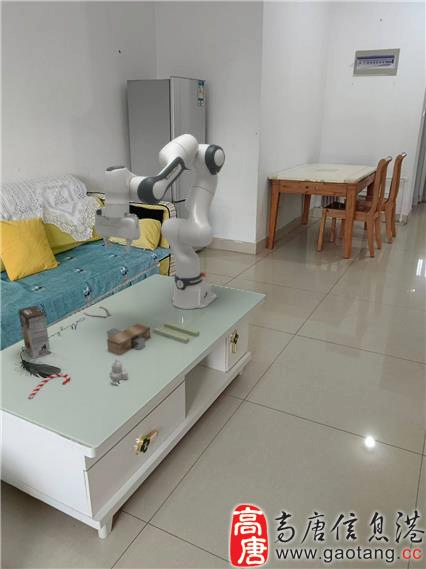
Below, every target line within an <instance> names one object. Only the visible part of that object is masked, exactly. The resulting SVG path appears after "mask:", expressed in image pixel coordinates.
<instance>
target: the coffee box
mask: <svg viewBox="0 0 426 569" xmlns="http://www.w3.org/2000/svg"><path fill="white" fill-rule="evenodd" d="M18 315H19V319H20V324H21V325H20V326H21V331H22V336H23V337H22V338H23V342H24V348H25V351H27V353H29V355H30V356H31V358H33V359H37V358H40V357H43V356H46V355H49V354H51V350H50V349H51V347H50V341H49V333H48V326H47V319H46V313H45V312H44V311H43V310H42V309H40V307H38V306H37V305H33V306H28V307H22V308H20V309H18Z"/></svg>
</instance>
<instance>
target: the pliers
mask: <svg viewBox="0 0 426 569" xmlns="http://www.w3.org/2000/svg"><path fill="white" fill-rule="evenodd" d="M99 308H100V309H103V310H105V312H106V316H105V315H92V314H88V313H87V312H83V314H84V315H85V316H88V317H91V318H102V319H106V318H109V317H111V316H112V314H110V312H109V310H108V309H107V308H106V307H103V306H99Z"/></svg>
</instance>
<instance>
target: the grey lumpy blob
mask: <svg viewBox="0 0 426 569" xmlns="http://www.w3.org/2000/svg"><path fill="white" fill-rule="evenodd" d="M110 368H111V371H110V372H109V378H110V380H111V381H112V382H114V383H119V382H120V381H121V380H127V379H129V378H128V374H129V372H128V371H126V369H125V368H123V363H122V362H121V361H120V360H119V359H117V358H114V362H113V363H112V365H111V367H110Z"/></svg>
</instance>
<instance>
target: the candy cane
mask: <svg viewBox="0 0 426 569" xmlns="http://www.w3.org/2000/svg"><path fill="white" fill-rule="evenodd" d="M55 378H56V379H57V378H65V379H66V380H64V381H63V382H62V383H61V384H62V385H63V386H65V385H67V384H68V383H69V382H70V381H71V376H70V375H69V374H68V373H55V374H52V375H49V376H47V377H46V378H44V379H42V380H41V381H40V382H39V384H37V386H36V387H34V389H33V390H32V392H30V394H29V396H28V398H27V399H29V398H30V399H29V400H32V399H33V398H34V397H35V396H36V395H37V393H38V392H39V391H40V389H42V387H43V386H44V385H46V383H48V382H49V381H51V380H52V379H55ZM37 391H38V392H37ZM34 395H35V396H34ZM31 398H32V399H31Z"/></svg>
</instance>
